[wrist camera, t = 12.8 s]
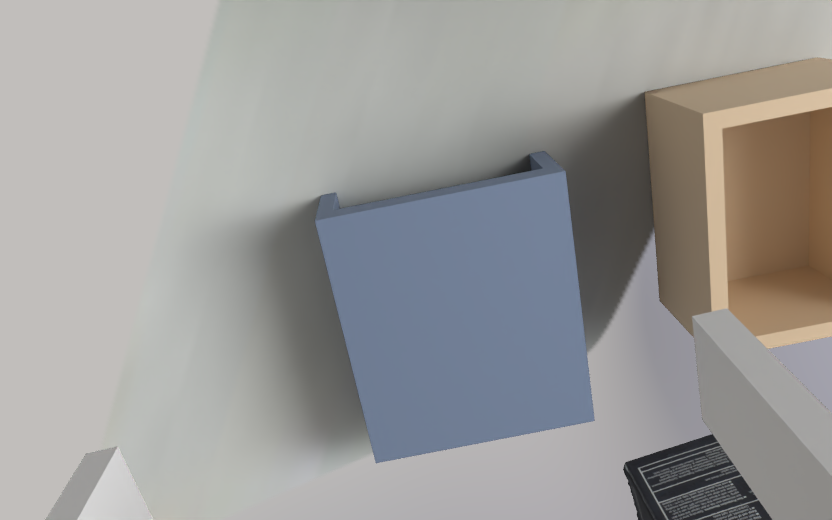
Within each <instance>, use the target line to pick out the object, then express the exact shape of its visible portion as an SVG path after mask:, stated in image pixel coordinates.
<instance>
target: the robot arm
mask: <svg viewBox="0 0 832 520" xmlns="http://www.w3.org/2000/svg"><path fill="white" fill-rule="evenodd" d="M692 322H693V332H694V342H695V351H696V362H697V372H698V382H699V392H700V401H701V412H702V419H703V421H704V423H705V424H706V425H707V427H708V428H709V430H710V431H711V432H712V434H713V435H714V437H715V438H716V440H717V441H718V443H719V444H720V445H721V447H722V448H723V450H724V451H725V453H726V454H727V455H728V457H729V458H730V460H731V461H732V463H733V464H734V465H735V467H736V468H737V470H738V471H739V473H740V474H741V476H742V477H743V478H744V480H745V481H746V483H747V484H748V486H749V487H750V488H751V490H752V491H753V493H754V494H755V496H756V497H757V498H758V500H759V501H760V503H761V504H762V506H763V507H764V508H765V510H766V511H767V513H768V514H769V516H770V517H771V518H772V520H832V413H831V412H830V411H829V410H828V409H827V408H826V407H825V406H824V405H823V404H822V403H821V402H820V401H819V400H818V399H817V398H816V397H815V396H814V395H813V394H812V393H811V392H810V391H809V390H808V389H807V388H806V387H805V386H804V385H803V384H802V383H801V382H800V381H799V380H798V379H797V378H796V377H795V376H794V375H793V374H792V373H791V372H790V371H789V370H788V369H787V368H786V367H785V366H784V365H783V364H782V363H781V362H780V361H779V360H778V359H777V358H776V357H775V356H774V355H773V354H772V353H771V352H770V351H769V350H768V349H767V348H766V347H765V346H764V345H763V344H762V343H761V342H760V341H759V340H758V339H757V338H756V337H755V336H754V335H753V334H752V333H751V332H750V331H749V330H748V329H747V328H746V327H745V326H744V325H743V324H742V323H741V322H740V321H739V320H738V319H737V318H736V317H735V316H734V315H733V314H732V313H731V312H730V311H729V310H728V309H727V308H726V309H721V310H717V311H712V312H708V313H704V314H699V315H695V316H692ZM46 520H153V518H152V516H151V514H150V511H149V509H148V507H147V505H146V503H145V501H144V499H143V497H142V495H141V493H140V491H139V489H138V487H137V485H136V483H135V481H134V479H133V477H132V475H131V472H130V470H129V468H128V466H127V464H126V462H125V460H124V458H123V456H122V454H121V452H120V450H119V448H118V447H114V448H109V449H105V450H101V451H96V452H92V453H87V454H85V456H84V458H83V459H82V461H81V463H80V464H79V466H78V468H77V469H76V471H75V472H74V474H73V476H72V477H71V479H70V481H69V482H68V484H67V485H66V487H65V489H64V490H63V492H62V494H61V495H60V497H59V499H58V500H57V502H56V503H55V505H54V507H53V508H52V510H51V512H50V513H49V515H48V517H47V518H46Z"/></svg>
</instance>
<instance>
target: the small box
mask: <svg viewBox="0 0 832 520" xmlns="http://www.w3.org/2000/svg"><path fill="white" fill-rule="evenodd" d="M623 470H624V473H625V475H626V477H627V479H628V484H629V486H630V489H631V493H632V496H633V499H634V504H635V506H636V510H637V517H638V520H772V518H771V517H770V516H769V514H768V513H767V511H766V510H765V508H764V507H763V506H762V504H761V503H760V501H759V500H758V498H757V497H756V496H755V494H754V493H753V491H752V490H751V488H750V487H749V486H748V484H747V483H746V481H745V480H744V478H743V477H742V476H741V474H740V473H739V471H738V470H737V468H736V467H735V465H734V464H733V463H732V461H731V460H730V458H729V457H728V455H727V454H726V453H725V451H724V450H723V448H722V447H721V445H720V444H719V443H718V441H717V440H716V438H715V437H714V435H713V434H712V435H709V436H705V437H703V438H700V439H696V440H693V441H690V442H687V443H684V444H681V445H678V446H675V447H672V448H668V449H665V450H662V451H659V452H656V453H653V454H650V455H647V456H644V457H641V458H638V459H635V460H632V461H629V462H626V463H625V465H624V469H623Z"/></svg>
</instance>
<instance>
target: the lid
mask: <svg viewBox="0 0 832 520" xmlns="http://www.w3.org/2000/svg"><path fill="white" fill-rule="evenodd" d="M529 155H530V163H531V170H532V171H528V172H523V173H518V174H513V175H508V176H502V177H497V178H492V179H487V180H482V181H477V182H472V183H467V184H462V185H457V186H452V187H447V188H442V189H437V190H432V191H427V192H422V193H417V194H412V195H407V196H402V197H397V198H392V199H387V200H382V201H377V202H372V203H367V204H362V205H356V206H351V207H346V208H341V209H340V207H339V203H338V199H337V194H336V193H331V194H326V195H321V198H320V202H319V206H318V210H317V214H316V218H315V223H316V227H317V231H318V235H319V239H320V243H321V247H322V251H323V255H324V259H325V263H326V267H327V271H328V275H329V279H330V283H331V287H332V291H333V295H334V299H335V303H336V307H337V311H338V315H339V319H340V323H341V327H342V331H343V334H344V338H345V342H346V346H347V350H348V354H349V358H350V362H351V366H352V370H353V374H354V378H355V382H356V386H357V390H358V394H359V398H360V402H361V406H362V410H363V414H364V418H365V422H366V426H367V430H368V434H369V438H370V442H371V446H372V449H373V453H374V457H375V461H376V463H379V462H384V461H390V460H395V459H400V458H405V457H410V456H415V455H421V454H426V453H431V452H436V451H441V450H447V449H452V448H457V447H462V446H467V445H472V444H478V443H483V442H488V441H493V440H498V439H503V438H509V437H514V436H519V435H524V434H529V433H534V432H540V431H544V430H550V429H555V428H560V427H565V426H570V425H576V424H581V423H586V422H591V421H594V412H593V403H592V394H591V386H590V377H589V368H588V360H587V351H586V343H585V334H584V325H583V317H582V308H581V299H580V291H579V282H578V274H577V265H576V256H575V248H574V239H573V231H572V222H571V213H570V205H569V196H568V188H567V179H566V171H565V170H564V169H563V168H562V167H561V166H560V165H559V164H558V163H556V162H555V161H554V160H553V159H552V158H551V157H550V156H549V155H548V154H547V153H546V152H545V151H542V152H537V153H532V154H529Z"/></svg>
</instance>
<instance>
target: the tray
mask: <svg viewBox="0 0 832 520" xmlns="http://www.w3.org/2000/svg"><path fill="white" fill-rule="evenodd" d="M645 106H646V119H647V133H648V147H649V161H650V174H651V188H652V202H653V216H654V229H655V243H656V257H657V271H658V284H659V298H660V302H661V303H662V304H663V305H664V306H665V307H666V308H667V309H668V310H669V311H670V312H671V313H672V314H673V316H674V317H675V318H676V319H677V320H678V321H679V322H680V323H681V324H682V325H683V326H684V328H685V329H686V330H687V331H688V332H689V333H690V334H691V335H692V336H693V337H694V332H693V322H692V316H695V315H699V314H704V313H708V312H712V311H717V310H721V309H726V308H727V309H728V310H729V311H730V312H731V313H732V314H733V315H734V316H735V317H736V318H737V319H738V320H739V321H740V322H741V323H742V324H743V325H744V326H745V327H746V328H747V329H748V330H749V331H750V332H751V333H752V334H753V335H754V336H755V337H756V338H757V339H758V340H759V341H760V342H761V343H762V344H763V345H764V346H765V347H766V348H767V349H769V348H774V347H780V346H785V345H790V344H795V343H800V342H805V341H811V340H816V339H821V338H826V337H831V336H832V60H831V59H824V58H812V59H807V60H802V61H797V62H792V63H787V64H782V65H777V66H772V67H767V68H762V69H757V70H752V71H747V72H742V73H737V74H732V75H727V76H722V77H717V78H712V79H707V80H702V81H697V82H692V83H687V84H682V85H677V86H672V87H667V88H662V89H657V90H652V91H647V92H645Z"/></svg>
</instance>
